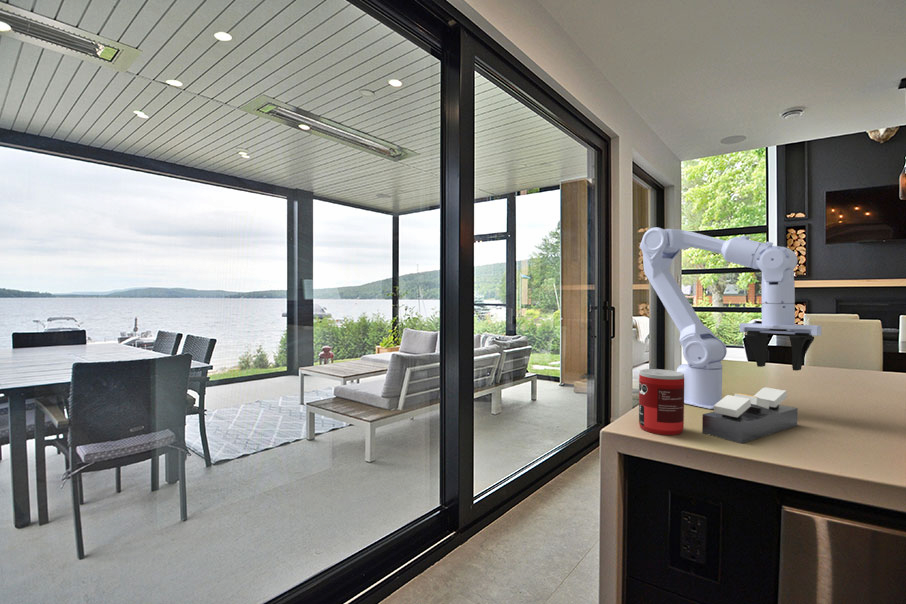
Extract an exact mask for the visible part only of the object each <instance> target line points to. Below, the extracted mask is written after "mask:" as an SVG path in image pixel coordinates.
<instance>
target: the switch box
mask: <svg viewBox="0 0 906 604" xmlns="http://www.w3.org/2000/svg"><path fill="white" fill-rule="evenodd" d="M798 411H799V410H798V407H794V406H788V405H783V404H779V405H778V406H776V407H770V406H769V409H764V408H759V407H754V406H751V407H749V408H748V409H747V410H746V411H745V412H743V413H742V414H741V415H740V416H739V417H732V416H728V415H723V414H719V413H715V412H714V411H711V412H708V413H707V412H706V413H703V414H702V421H701V422H702V431H701V432H702V434H704V433H706V434H705V435H708V434H710V435H709V436H712V435H713V436H712V437H715V436H717V437H716V438H719V437H720V439H723V438H724V439H723V440H727V441H731V442H734V441H735V443H738V444H745V443H747V442H751V441H754V440H757V439H760V438H764V437H767V436H770V435H772V434H776V433H779V432H782V431H785V430H789V429H790V428H791V429H792V428H794V427H797V426H798Z"/></svg>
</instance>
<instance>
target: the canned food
mask: <svg viewBox="0 0 906 604" xmlns="http://www.w3.org/2000/svg"><path fill="white" fill-rule="evenodd" d="M638 378H639V379H638V424H639V427H640V429H642V430H643V431H645V432H646V433H647V432H648V433H650V434H656V435H662V436H676V435H677V434H678V435H680V434H682V432H683V430H684V427H685V425H684V424H685V423H684V422H685V411H684V410H685V403H684V374H683V373H681V372H677V370H671V369H659V368H648V369H647V368H645V369H640V370H639V377H638Z"/></svg>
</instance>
